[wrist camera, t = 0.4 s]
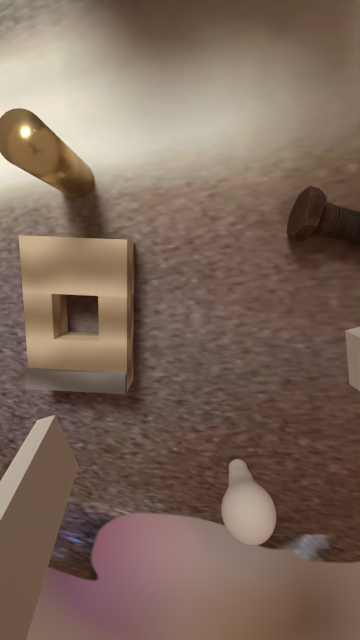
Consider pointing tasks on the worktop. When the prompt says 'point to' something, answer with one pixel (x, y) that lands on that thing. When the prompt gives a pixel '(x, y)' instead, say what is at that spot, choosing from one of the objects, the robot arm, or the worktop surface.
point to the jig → (52, 320)
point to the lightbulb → (247, 507)
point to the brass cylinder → (43, 153)
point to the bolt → (322, 218)
